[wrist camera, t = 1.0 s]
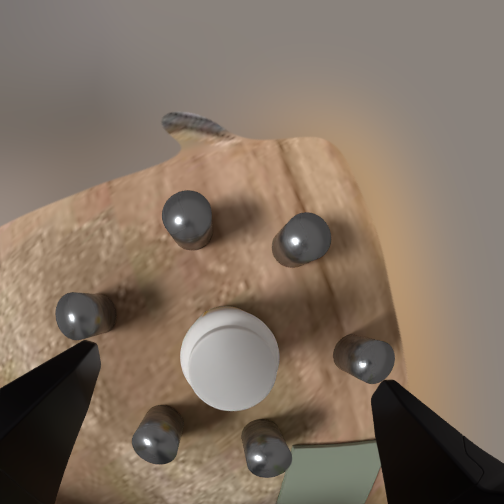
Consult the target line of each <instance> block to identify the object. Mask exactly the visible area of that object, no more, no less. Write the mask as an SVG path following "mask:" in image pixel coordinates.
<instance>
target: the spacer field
mask: <svg viewBox="0 0 504 504" xmlns="http://www.w3.org/2000/svg"><path fill="white" fill-rule="evenodd" d="M162 220H163V224H164V226H165V228H166V229H167V231H168V232H169V233H170V235H171V236H172V237H173V239H174V240H175V242H176V243H177V244H178V245H179V246H180V247H182V248H183V249H186V250H198V249H200V248H202V247H204V246H205V245H206V244H207V243H208V242H209V240H210V239H211V236H212V212H211V207H210V204H209V202H208V200H207V199H206V198H205V197H204V196H203V195H201V194H200V193H198V192H195V191H189V190H187V191H181V192H178V193H176V194H174V195H173V196H171V197H170V198H169V199H168V200H167V202H166V203H165V205H164V207H163V211H162ZM330 243H331V233H330V229H329V227H328V225H327V224H326V222H325V221H324V220H323V219H322V218H321V217H319V216H318V215H316V214H313V213H306V212H305V213H300V214H297V215H295V216H294V217H293V218H292V219H291V220H290V221H289V222H288V223H287V224H286V225H285V226H284V227H283V228H282V229H281V230H280V231H279V232H278V234H277V235H276V236H275V237H274V239H273V242H272V252H273V255H274V257H275V259H276V260H277V261H278V262H279V263H280V264H281V265H283V266H286V267H290V268H294V267H298V266H301V265H303V264H306V263H308V262H311V261H313V260H316V259H318V258H320V257H322V256H323V255H324V254H325V253H326V252H327V251H328V249H329V247H330ZM116 316H117V315H116V309H115V306H114V304H113V302H112V301H111V300H110V299H109V298H108V297H107V296H105V295H102V294H90V293H74V292H72V293H67V294H65V295H64V296H63V297H62V298H61V299H60V300H59V302H58V304H57V307H56V321H57V324H58V327H59V329H60V330H61V332H62V333H63V334H64V335H65V336H66V337H68V338H70V339H72V340H81V339H85V338H89V337H92V336H95V335H99V334H102V333H106V332H108V331H110V330H111V329H112V328H113V326H114V324H115V322H116ZM333 358H334V362H335V364H336V366H337V367H338V368H339V369H341V370H343V371H345V372H347V373H349V374H351V375H353V376H354V377H356V378H358V379H360V380H362V381H364V382H366V383H369V384H376V383H379V382H381V381H383V380H384V379H385V378H386V377H387V376H388V375H389V374H390V372H391V371H392V368H393V366H394V361H395V355H394V351H393V349H392V347H391V346H390V345H389V344H388V343H386V342H383V341H379V340H375V339H370V338H366V337H361V336H357V335H348V336H345V337H343V338H342V339H341V340H340V341H339V342H338V343H337V344H336V346H335V349H334V353H333ZM183 426H184V423H183V419H182V417H181V415H180V414H179V413H178V412H177V411H176V410H175V409H173V408H171V407H169V406H164V405H158V406H154V407H152V408H151V409H150V410H149V411H148V412H147V414H146V415H145V417H144V419H143V420H142V422H141V424H140V425H139V427H138V429H137V430H136V432H135V434H134V435H133V438H132V445H133V448H134V450H135V452H136V453H137V454H138V455H139V456H140V457H141V458H142V459H144V460H145V461H147V462H150V463H153V464H166V463H169V462H171V461H172V460H173V459H174V458H175V457H176V455H177V451H178V447H179V443H180V439H181V434H182V430H183ZM241 438H242V443H243V447H244V452H245V457H246V462H247V466H248V469H249V470H250V471H251V472H252V473H253V474H254V475H256V476H259V477H265V478H269V477H275V476H278V475H280V474H282V473H284V472H285V471H286V470H287V469H288V468H289V467H290V465H291V463H292V454H291V452H290V450H289V448H288V446H287V444H286V442H285V440H284V438H283V436H282V434H281V432H280V431H279V429H278V427H277V425H276V424H275V423H273V422H272V421H269V420H265V419H260V420H255V421H252V422H250V423H249V424H247V425H246V426H245V427H244V429H243V431H242V435H241Z"/></svg>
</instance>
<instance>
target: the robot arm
mask: <svg viewBox="0 0 504 504" xmlns="http://www.w3.org/2000/svg"><path fill="white" fill-rule="evenodd" d="M100 368H101V360H100V355H99V350H98V345H97V344H96V343H94V342H91V341H88V340H83V341H81V342H80V343H78V344H76V345H74V346H73V347H71V348H69V349H67V350H66V351H64V352H62V353H60V354H59V355H57V356H55V357H53V358H52V359H50V360H48V361H46V362H45V363H43V364H41V365H40V366H38V367H36V368H34V369H33V370H31V371H29V372H27V373H26V374H24V375H22V376H21V377H19V378H17V379H15V380H14V381H12V382H10V383H9V384H7V385H5V386H3V387H2V388H0V504H54V503H55V500H56V496H57V493H58V490H59V487H60V484H61V481H62V477H63V474H64V471H65V469H66V466H67V463H68V460H69V457H70V454H71V452H72V449H73V446H74V444H75V441H76V438H77V436H78V433H79V431H80V428H81V426H82V423H83V421H84V418H85V416H86V413H87V411H88V408H89V405H90V401H91V398H92V394H93V391H94V388H95V384H96V381H97V378H98V375H99V371H100ZM371 406H372V414H373V422H374V431H375V438H376V444H377V448H378V453H379V458H380V463H381V468H382V473H383V478H384V484H385V490H386V495H387V501H388V504H504V463H502V462H501V461H499V460H498V459H496V458H494V457H493V456H491V455H490V454H488V453H487V452H485V451H483V450H482V449H481V448H479V447H478V446H476V445H475V444H474V443H473V442H471V441H470V440H468V439H467V438H466V437H465V436H463V435H462V434H461V433H460V432H458V431H457V430H456V429H455V428H454V427H452V426H451V425H450V424H448V423H447V422H446V421H445V420H443V419H442V418H441V417H440V416H438V415H437V414H436V413H435V412H433V411H432V410H431V409H430V408H428V407H427V406H426V405H425V404H423V403H422V402H421V401H420V400H419V399H417V398H416V397H415V396H414V395H412V394H411V393H410V392H409V391H407V390H406V389H405V388H404V387H402V386H401V385H400V384H399V383H397V382H396V381H395V380H383V381H382V382H381V383H380V385H379V386H378V388H377V389H376V391H375V392H374V394H373V395H372V398H371Z"/></svg>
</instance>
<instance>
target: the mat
mask: <svg viewBox="0 0 504 504" xmlns="http://www.w3.org/2000/svg"><path fill="white" fill-rule="evenodd" d="M291 454H292V463H291V465H290V467H289V468H288V469H287V470H286V472H285V476H284V479H283V483H282V486H281V490H280V493H279V496H278V500H277V503H276V504H364V503H365V501H366V499H367V497H368V495H369V492H370V490H371V488H372V486H373V483H374V481H375V479H376V476H377V474H378V471H379V469H380V466H381V463H380V458H379V453H378V448H377V444H376V440H371V441H363V442H354V443H343V444H329V445H299V446H292V450H291Z"/></svg>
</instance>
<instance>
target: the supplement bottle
mask: <svg viewBox="0 0 504 504" xmlns="http://www.w3.org/2000/svg"><path fill="white" fill-rule="evenodd" d="M180 359H181V367H182V370H183V373H184V375H185V377H186V379H187V381H188V382H189V384H190V385H191V386H192V388H193V390H194V391H195V393H196V394H197V395H198V397H199V398H200V399H201V400H203V401H204V402H205V403H207V404H208V405H210V406H212V407H214V408H217V409H220V410H225V411H240V410H244V409H248V408H250V407H253V406H255V405H256V404H258V403H259V402H261V401H262V400H263V399H264V398H265V397H266V396H267V395H268V394H269V392H270V391H271V389H272V387H273V385H274V383H275V379H276V375H277V370H278V366H279V349H278V345H277V342H276V339H275V337H274V335H273V333H272V332H271V331H270V329H269V328H268V327H267V326H266V325H265V324H264V323H263V322H262V321H261V320H260V319H258V318H257V317H255V316H254V315H252V314H250V313H247V312H246V311H243V310H241V309H239V308H235V307H231V306H220V307H216V308H213V309H210V310H208V311H207V312H205V313H204V314H203V315H201V316H200V317H199V318H198V319H197V321H196V322H195V323H194V324H193V325H192V326H191V328H190V329H189V330H188V332H187V334H186V335H185V338H184V340H183V343H182V347H181V354H180Z"/></svg>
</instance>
